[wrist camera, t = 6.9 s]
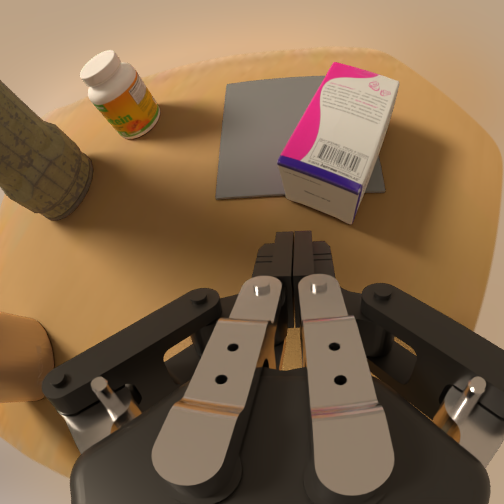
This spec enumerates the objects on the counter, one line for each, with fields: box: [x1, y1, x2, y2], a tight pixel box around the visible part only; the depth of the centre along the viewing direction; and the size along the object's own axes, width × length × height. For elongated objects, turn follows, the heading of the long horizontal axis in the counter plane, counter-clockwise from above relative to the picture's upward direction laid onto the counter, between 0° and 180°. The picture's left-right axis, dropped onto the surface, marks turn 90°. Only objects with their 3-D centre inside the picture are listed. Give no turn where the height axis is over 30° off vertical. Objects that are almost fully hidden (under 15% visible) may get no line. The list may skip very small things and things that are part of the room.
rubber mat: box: [216, 76, 385, 200], centre depth 26 cm, size 14×14×1 cm
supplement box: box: [277, 62, 399, 224], centre depth 22 cm, size 6×6×12 cm
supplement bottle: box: [80, 50, 160, 139], centre depth 26 cm, size 5×5×10 cm
